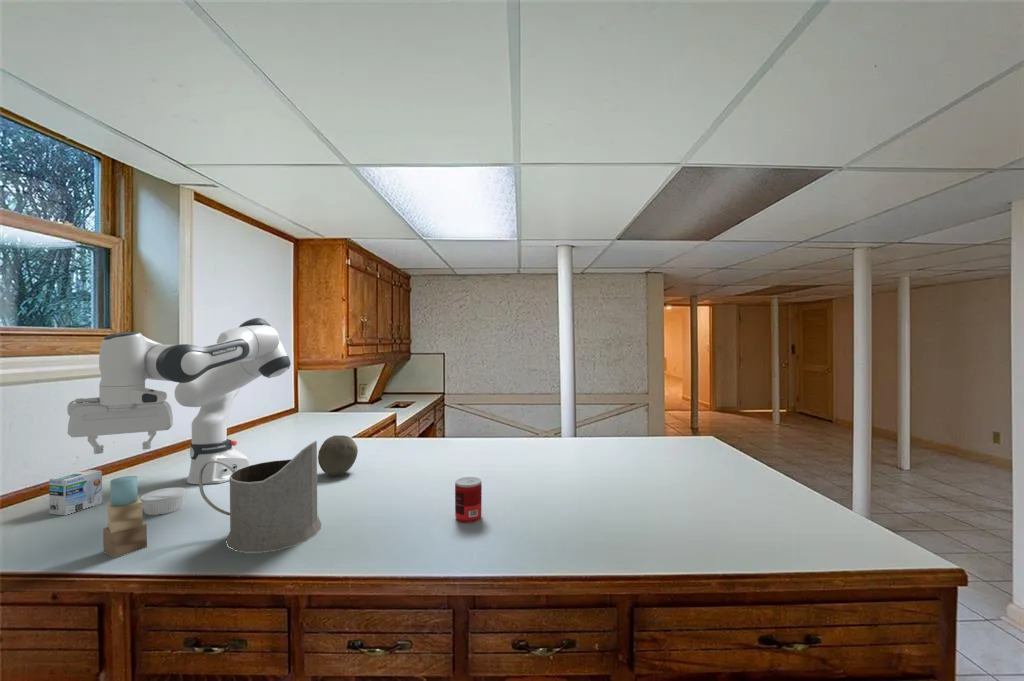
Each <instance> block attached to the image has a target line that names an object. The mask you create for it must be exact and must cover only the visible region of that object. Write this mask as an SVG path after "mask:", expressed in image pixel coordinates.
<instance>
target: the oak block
mask: <svg viewBox="0 0 1024 681" xmlns="http://www.w3.org/2000/svg"><path fill="white" fill-rule="evenodd" d="M140 499H141V498H139V497H138V501H137V502H135V503H133V504H129V505H125V506H118V507H114V506H111V501H110V502H107V527H108V528H109V530H110V532H111V533H115V532H120V531H124V530H128V529H132V528H136V527H140V526H143V523H144V522H143V505H142V501H141V500H140Z"/></svg>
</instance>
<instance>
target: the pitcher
mask: <svg viewBox="0 0 1024 681" xmlns="http://www.w3.org/2000/svg"><path fill="white" fill-rule="evenodd" d="M208 463H219V464H222V465H225V466H226V467H228V468H229V469H230V470H231V471H232V474H231V475H230V480H229V512H228V511H226V510H224V509H221V508H219V507H218V506H217V505H215V504H214V503H213V502H212V501H211V500H210V498H209V497H207V496H206V493H205V491H204V487H203V486H204V484H202V474H203V470H204V468H205V466H206V465H207V464H208ZM198 486H199V492H200V496H201V497H202V499H203V500H204V501H205V502H206V503H207V504H208V506H210V507H211V508H212V509H213V510H215V511H217V512H219V513H221V514H223V515H226V516H229V523H230V524H229V527H230V528H229V530H230V531H229V533H228V536H227V537H226V540H225V542H226V541H227V544H228V546H229V547H231V548H233V549H234V550H237V551H241V552H240V553H242V552H246V553H245V554H263V552H264V553H269V551H271V552H276V550H278V551H281V550H285V549H289V548H292V546H293V547H295V546H297V545H301V544H302V543H305V542H307V541H309V540H311V539H313V538H314V537H315V536H317V535H318V534H319V532H320V531H321V530H322V526H323V524H322V522H321V520H320V517H319V515H318V441H317V440H314V441H313V442H311V443H309V444H308V445H307V446H305V447H303V448H302V449H301V450H299V452H298V453H297V454H296V455H295V456H294V457H293V458H291V459H281V460H271V461H266V462H260V463H255V464H250V466H247V467H244V468H241V469H239V470H237V471H235V470H234V468H233V467H232V466H230V465H229V464H227V463H225V462H222V461H217V460H213V461H209V462H207V463H205V464H204V465H203V466H202V468H201V470H200V473H199V484H198ZM284 548H285V549H284ZM280 549H281V550H280Z"/></svg>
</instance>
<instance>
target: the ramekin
mask: <svg viewBox="0 0 1024 681" xmlns="http://www.w3.org/2000/svg"><path fill="white" fill-rule="evenodd" d="M186 494H187V490H186V488H185V487H166V488H165V487H164V488H160V489H155V490H152V491H149V492H146V493H145V494H143V495H141V496H140V498H139V499H140V500H141V501H142V510H143V513H144V514H146V515H147V514H148V515H147V516H160V515H159V514H162V515H166V514H165V513H167V514H171V513H173V511H174V512H177V511H178V510H180V509H181V508H182V507H183V506H184V502H185V497H186ZM170 512H171V513H170Z"/></svg>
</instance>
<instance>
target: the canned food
mask: <svg viewBox="0 0 1024 681" xmlns="http://www.w3.org/2000/svg"><path fill="white" fill-rule="evenodd" d="M454 484H455V485H454V506H455V507H454V514H455V515H454V516H455V520H456V521H458V522H460V523H466V524H467V523H468V524H469V523H475V522H478V521H479V520H480V519H481V517H482V507H483V506H482V502H483V501H482V494H483V492H482V487H483V485H482V479H481V478H479V477H474V476H465V477H460V478H458V479H456V480H455V482H454Z"/></svg>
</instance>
